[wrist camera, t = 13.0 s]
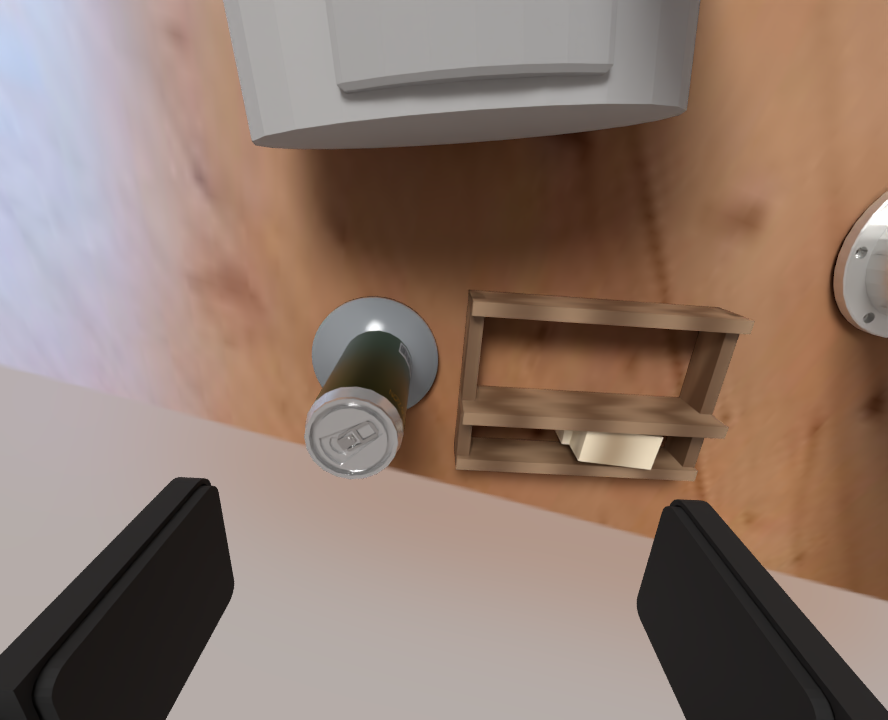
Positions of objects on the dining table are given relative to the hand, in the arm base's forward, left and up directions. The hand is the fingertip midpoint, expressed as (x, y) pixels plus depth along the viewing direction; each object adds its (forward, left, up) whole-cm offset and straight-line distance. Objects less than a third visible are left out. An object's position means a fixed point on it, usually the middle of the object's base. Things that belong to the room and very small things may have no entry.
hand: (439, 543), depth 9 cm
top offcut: (-15, +10, -23) cm, 30 cm away
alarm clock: (-1, -14, -26) cm, 29 cm away
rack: (-13, +7, -25) cm, 29 cm away
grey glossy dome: (+4, +5, -25) cm, 26 cm away
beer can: (+4, +5, -25) cm, 25 cm away
